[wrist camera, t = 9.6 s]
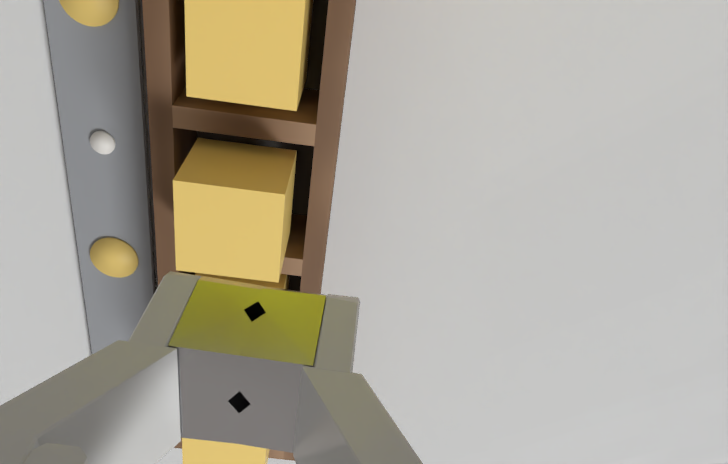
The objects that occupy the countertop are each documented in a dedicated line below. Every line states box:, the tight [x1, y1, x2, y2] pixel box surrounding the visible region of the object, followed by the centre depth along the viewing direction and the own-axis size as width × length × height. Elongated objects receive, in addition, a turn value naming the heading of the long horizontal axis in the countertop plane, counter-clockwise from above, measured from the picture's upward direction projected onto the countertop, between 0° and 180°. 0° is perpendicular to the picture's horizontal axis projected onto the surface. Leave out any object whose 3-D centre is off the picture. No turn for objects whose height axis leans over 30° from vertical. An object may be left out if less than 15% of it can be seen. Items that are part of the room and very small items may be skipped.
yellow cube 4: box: [182, 438, 270, 464], centre depth 35 cm, size 4×4×4 cm
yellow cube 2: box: [173, 138, 297, 283], centre depth 28 cm, size 4×4×4 cm
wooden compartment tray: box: [142, 0, 356, 461], centre depth 32 cm, size 8×29×4 cm, turn 172°
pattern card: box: [43, 0, 155, 354], centre depth 33 cm, size 4×29×1 cm, turn 172°
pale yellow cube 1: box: [184, 0, 313, 111], centre depth 26 cm, size 4×4×4 cm
